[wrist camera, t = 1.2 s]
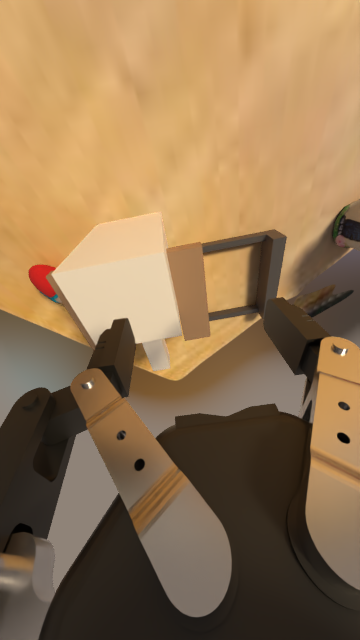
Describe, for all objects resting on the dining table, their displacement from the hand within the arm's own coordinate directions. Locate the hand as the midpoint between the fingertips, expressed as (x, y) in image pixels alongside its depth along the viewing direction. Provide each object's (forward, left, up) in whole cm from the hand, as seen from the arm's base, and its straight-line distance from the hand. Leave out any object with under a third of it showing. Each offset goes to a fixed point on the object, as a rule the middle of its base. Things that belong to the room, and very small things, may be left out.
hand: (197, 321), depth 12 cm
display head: (+10, -7, -25) cm, 28 cm away
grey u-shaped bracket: (+13, +10, -25) cm, 30 cm away
